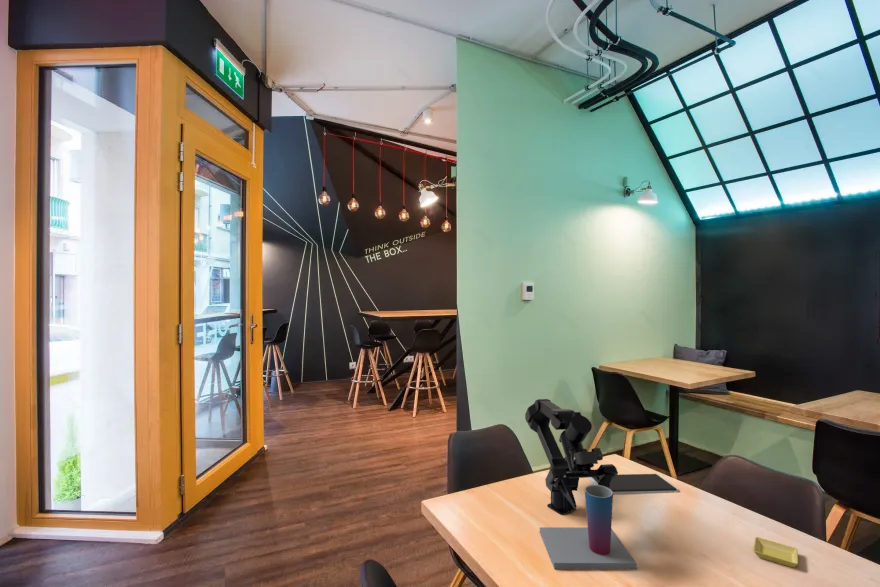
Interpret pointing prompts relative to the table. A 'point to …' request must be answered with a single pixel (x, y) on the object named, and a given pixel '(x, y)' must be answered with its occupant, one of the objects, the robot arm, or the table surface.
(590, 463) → the robot arm
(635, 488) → the black tablet
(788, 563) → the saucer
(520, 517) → the table surface
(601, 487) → the cup
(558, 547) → the board
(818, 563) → the table surface
